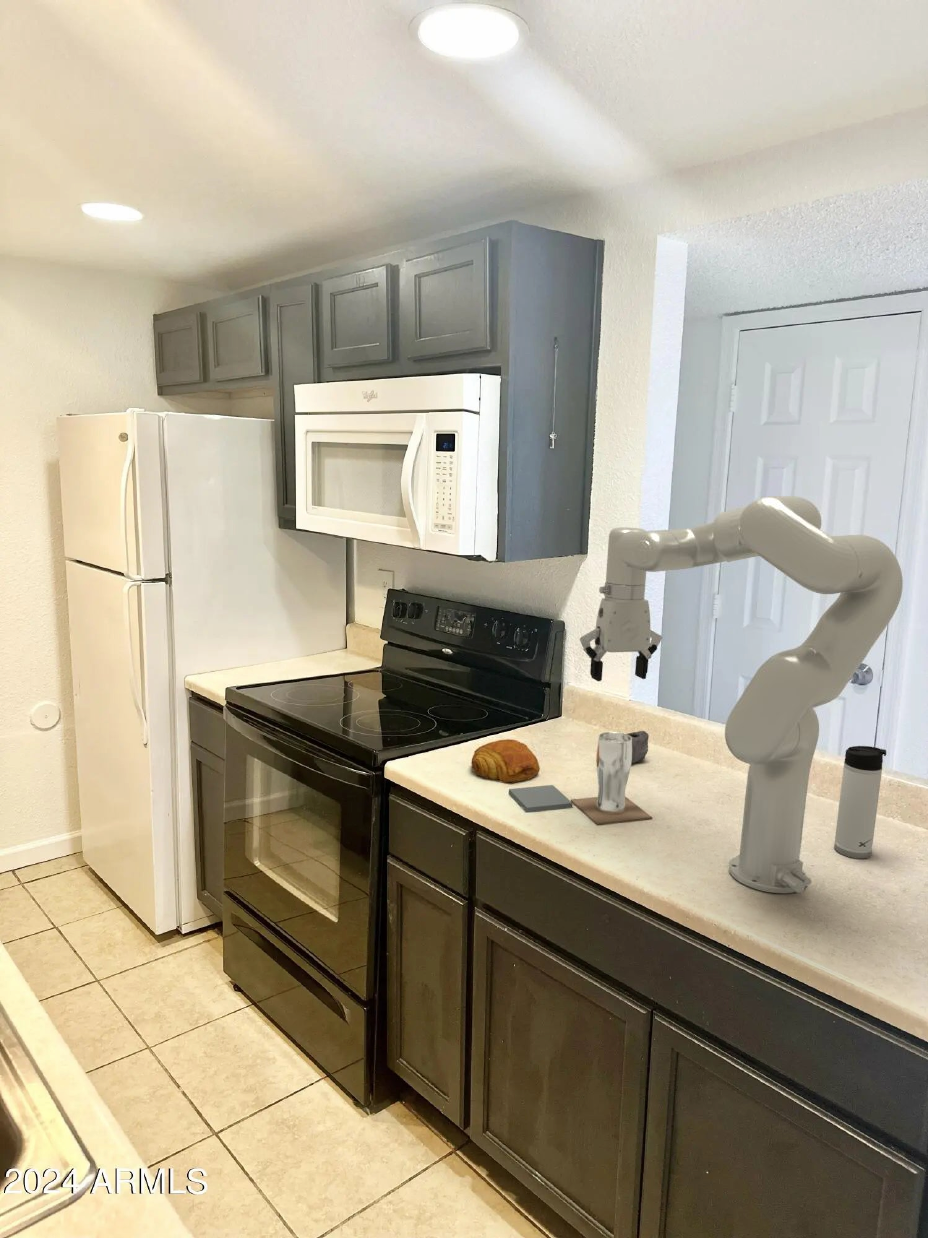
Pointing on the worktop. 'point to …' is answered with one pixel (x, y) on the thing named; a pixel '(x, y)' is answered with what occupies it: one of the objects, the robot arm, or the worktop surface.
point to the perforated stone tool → (639, 745)
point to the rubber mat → (540, 798)
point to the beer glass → (613, 771)
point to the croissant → (505, 761)
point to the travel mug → (858, 801)
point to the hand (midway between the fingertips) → (618, 678)
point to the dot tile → (604, 818)
